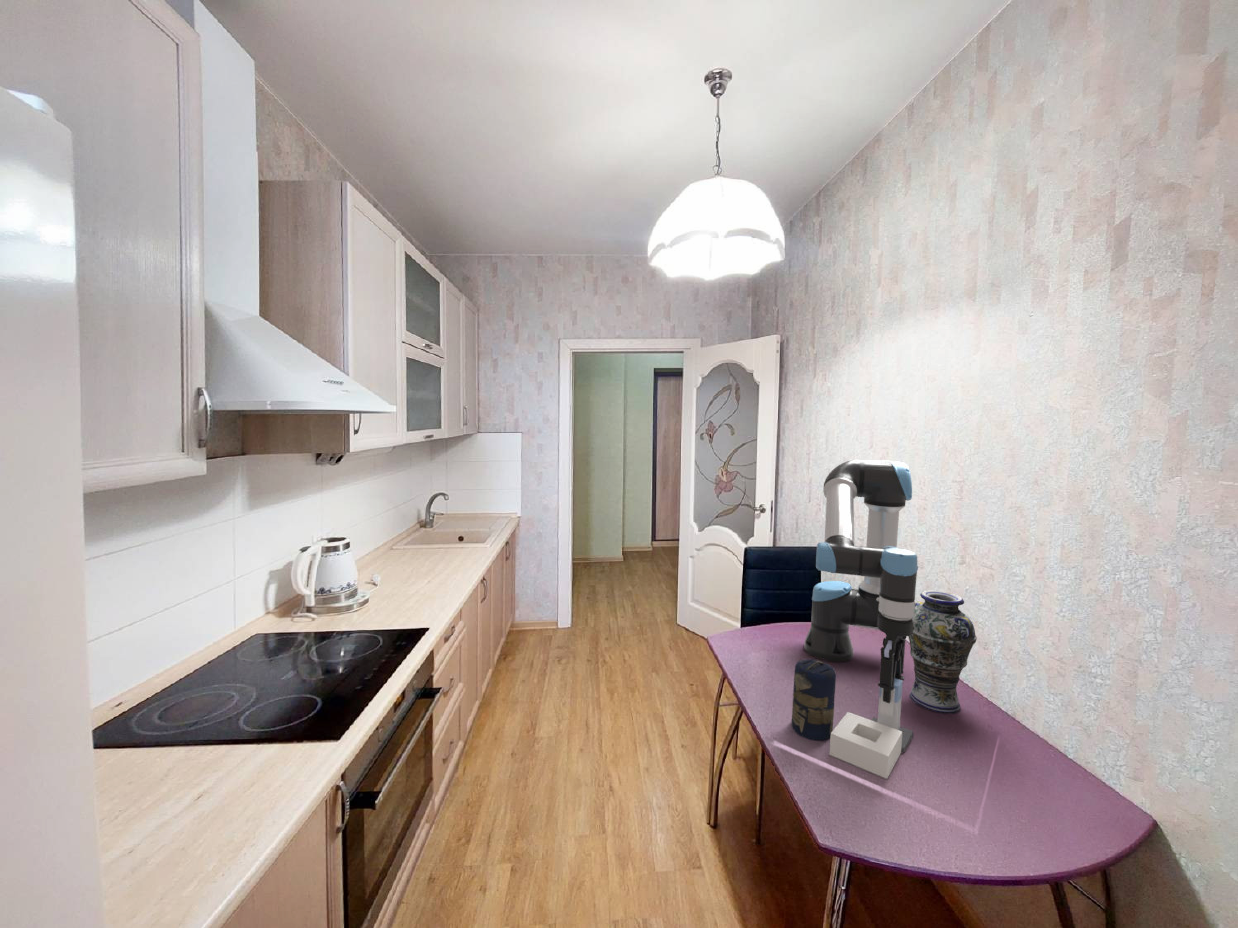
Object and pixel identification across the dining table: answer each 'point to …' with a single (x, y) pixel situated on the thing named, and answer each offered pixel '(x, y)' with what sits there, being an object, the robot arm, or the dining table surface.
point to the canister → (813, 699)
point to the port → (866, 744)
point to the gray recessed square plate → (906, 736)
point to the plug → (895, 720)
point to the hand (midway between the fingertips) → (889, 709)
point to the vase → (939, 650)
